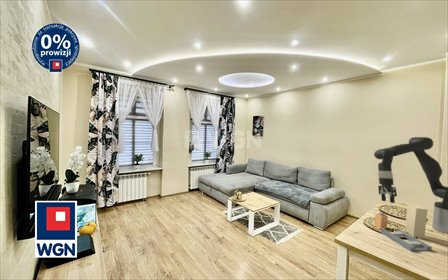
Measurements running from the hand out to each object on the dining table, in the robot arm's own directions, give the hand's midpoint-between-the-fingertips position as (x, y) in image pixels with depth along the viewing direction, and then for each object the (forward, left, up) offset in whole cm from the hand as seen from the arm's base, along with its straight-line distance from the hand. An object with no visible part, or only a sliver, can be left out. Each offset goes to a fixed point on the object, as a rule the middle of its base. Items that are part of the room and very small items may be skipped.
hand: (388, 201), depth 125 cm
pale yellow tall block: (-18, +18, -26) cm, 36 cm away
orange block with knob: (-16, -1, -25) cm, 30 cm away
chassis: (-3, +10, -25) cm, 27 cm away
